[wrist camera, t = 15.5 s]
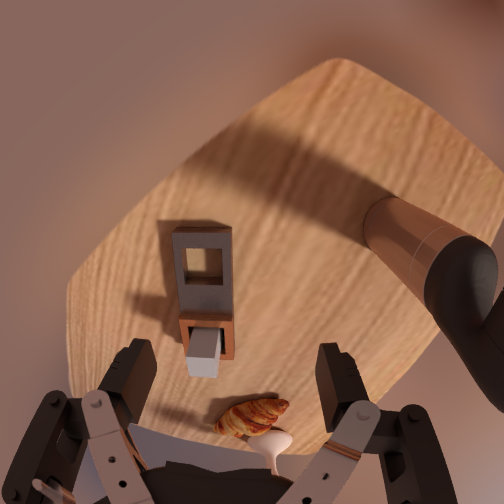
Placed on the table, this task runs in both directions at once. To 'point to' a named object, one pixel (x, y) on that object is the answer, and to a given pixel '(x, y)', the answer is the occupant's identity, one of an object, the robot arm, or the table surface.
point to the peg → (204, 351)
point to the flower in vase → (270, 446)
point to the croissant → (250, 417)
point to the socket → (205, 286)
